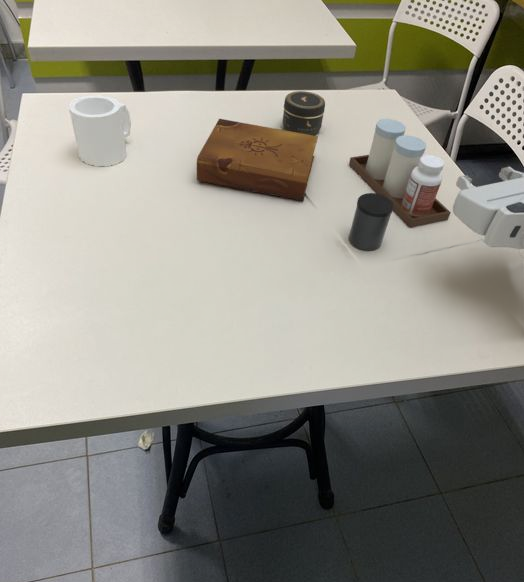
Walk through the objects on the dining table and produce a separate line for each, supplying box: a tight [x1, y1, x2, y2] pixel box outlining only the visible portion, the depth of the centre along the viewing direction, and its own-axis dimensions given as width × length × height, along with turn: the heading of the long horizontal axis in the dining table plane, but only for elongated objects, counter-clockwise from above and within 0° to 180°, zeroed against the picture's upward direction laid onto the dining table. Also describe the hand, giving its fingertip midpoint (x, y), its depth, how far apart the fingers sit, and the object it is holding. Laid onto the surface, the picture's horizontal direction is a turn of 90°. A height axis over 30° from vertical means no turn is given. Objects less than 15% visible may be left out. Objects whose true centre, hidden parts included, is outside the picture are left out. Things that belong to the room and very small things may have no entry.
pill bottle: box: [401, 154, 445, 217], centre depth 100 cm, size 6×6×11 cm
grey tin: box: [348, 192, 394, 252], centre depth 93 cm, size 7×7×9 cm
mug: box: [68, 94, 132, 167], centre depth 106 cm, size 14×10×11 cm
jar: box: [282, 90, 326, 136], centre depth 121 cm, size 10×10×8 cm
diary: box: [196, 118, 318, 202], centre depth 108 cm, size 23×19×6 cm
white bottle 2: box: [383, 134, 427, 198], centre depth 104 cm, size 6×6×11 cm
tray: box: [348, 154, 452, 229], centre depth 108 cm, size 25×10×2 cm, turn 23°
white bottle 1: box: [365, 118, 407, 180], centre depth 108 cm, size 6×6×11 cm
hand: (482, 175), depth 86 cm, fingers open, 8 cm apart
